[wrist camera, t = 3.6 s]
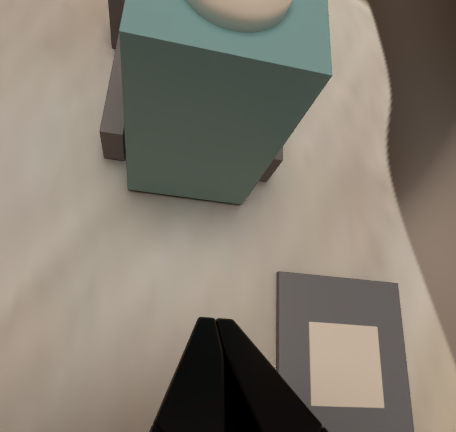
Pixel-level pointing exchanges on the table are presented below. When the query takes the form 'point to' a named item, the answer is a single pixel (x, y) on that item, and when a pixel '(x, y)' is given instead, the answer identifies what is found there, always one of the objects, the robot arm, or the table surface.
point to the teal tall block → (216, 89)
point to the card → (344, 351)
